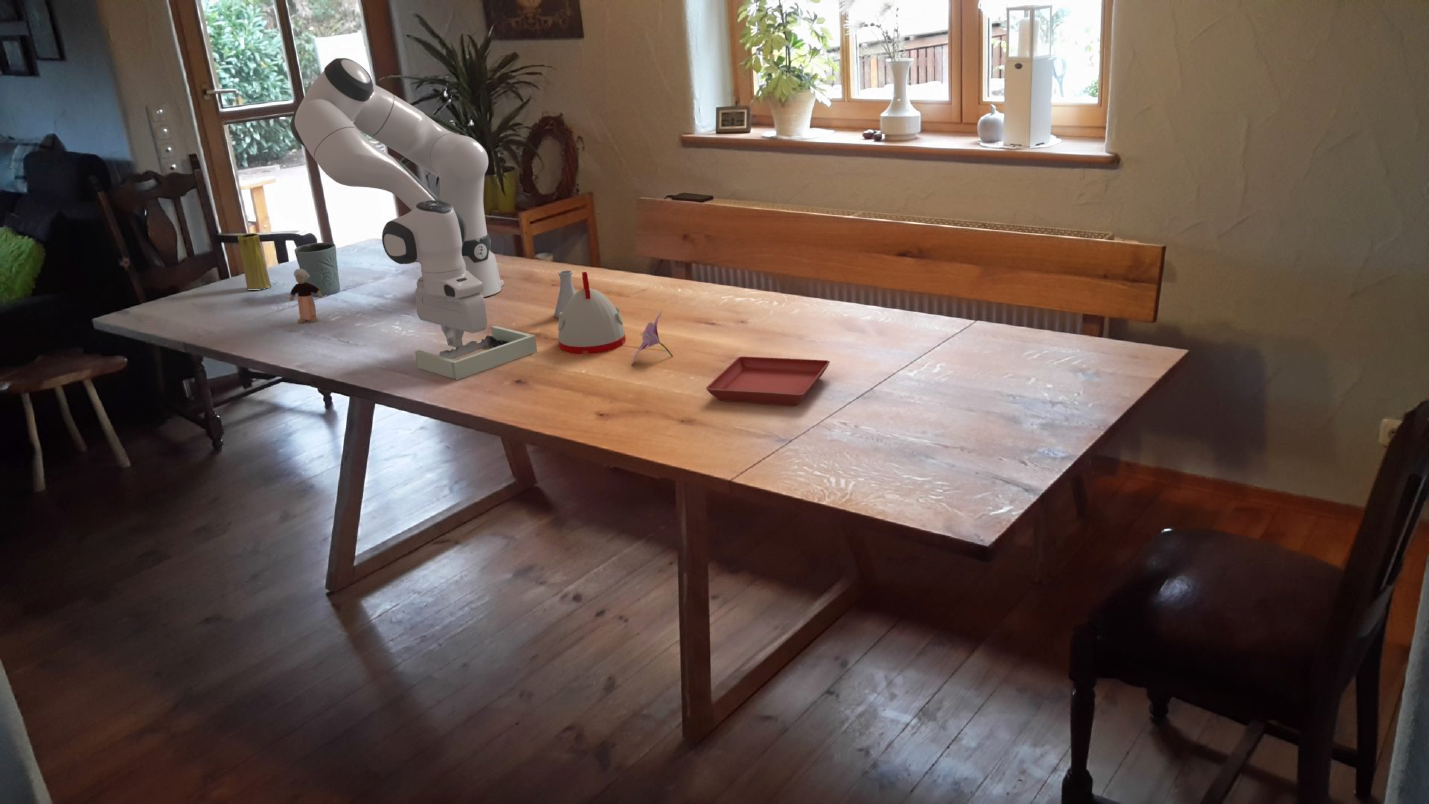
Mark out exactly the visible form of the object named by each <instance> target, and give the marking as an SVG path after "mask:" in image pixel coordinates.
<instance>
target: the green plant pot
mask: <svg viewBox="0 0 1429 804" xmlns="http://www.w3.org/2000/svg"><path fill="white" fill-rule="evenodd" d="M294 254H295V258H296V261H297V265H298V267H299V268H298V269H303V270H305V271H306V272H307V273H308V274H309V275H310V276H309V278H308V279H307V281H306V283H309V284H312V285H314V286H316V287H317V288H318V289H319V291H320V292H321V294H322V295H323V297H326V296H325V295H327V296H330V294H332V295H334V294H337V293H339V292H340V291H341V285H340V279H339V277H340V275H339V268H338V260H337V259H338V257H337V246H336V244H335V243H334V242H314V243H308V244H303V245H300V246H297V247H295V249H294ZM311 294H312V296H314V297H316V298H317V297H318V295H317V294H315V293H312V292H311ZM314 297H313V298H314ZM318 298H319V297H318Z"/></svg>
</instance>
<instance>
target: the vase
mask: <svg viewBox="0 0 1429 804" xmlns="http://www.w3.org/2000/svg"><path fill="white" fill-rule="evenodd" d="M260 239H261V238H260V235H259V234H258V233H254V232H252V233H251V232H250V233H244V234H240V235H237V240H238V244H239V250H240V255H241V256H240V257H241V260H242V265H243V271H244V277H245V283H246V290H247V289H264V288H268V287H269V286H271V287H272V284H271V280H270V277H269V273H268V269H267V266H266V265H267V264H266V262H265V258H264V254H263V248H262V245H261V244H262V243H261V240H260ZM268 289H269V288H268Z"/></svg>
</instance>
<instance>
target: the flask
mask: <svg viewBox="0 0 1429 804" xmlns="http://www.w3.org/2000/svg"><path fill="white" fill-rule="evenodd" d="M557 273H558V276H559V279H560V285H559V293H558V297H557V302H556V306H555V311H554V316H555V318H559V313H560V312H562V313H563V311H564V309H565V307H566V305H567V303H568V302H569V300H570V299H571V298H572V296H573V295H574V294H576V293H577V291H576V289H575V286H574V283H573V279H572V275H573V271H572V270H568V269H567V270H560V271H558V272H557Z"/></svg>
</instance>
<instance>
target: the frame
mask: <svg viewBox="0 0 1429 804" xmlns="http://www.w3.org/2000/svg"><path fill="white" fill-rule="evenodd" d="M490 328H491V329H490V330H491V334H492V335H491V336H493V337H494V338H496V339H497V340H502V341H506V342H509V343H506V344H503V345H501V346H498V347H495V348H494V347H491V348H490V349H486V350H483V351H479V352H478V353H474V354H472V355H468V356H466V357H463V358H459V359H457V360H455V359H448V358H445V357H442V356H439V355H437V354H434V353H430V352H427V351H423V350H421V349H418V350H416V351H415V350H414V351H415V352H414V353H415V358H416V364H417V368H418V369H420V370H423V371H424V370H425V371H426V372H427V371H428V372H430V373H433V374H437V375H440V376H444V377H445V378H446V377H447V378H450V379H453V380H456V381H459V380H461V379H465V378H467V377H470V376H472V375H476V374H478V373H482V372H484V371H486V370H490V369H492V368H495V367H498V366H501V365H505V364H506V363H509V362H512V361H515V360H518V359H520V358H523V357H526V356H528V355H532V354H535V353H537V352H538V349H537V340H536V335H534V334H531V333H526V332H522V331H518V330H514V329H510V328H507V327H502V326H498V325H493V326H490Z"/></svg>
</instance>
